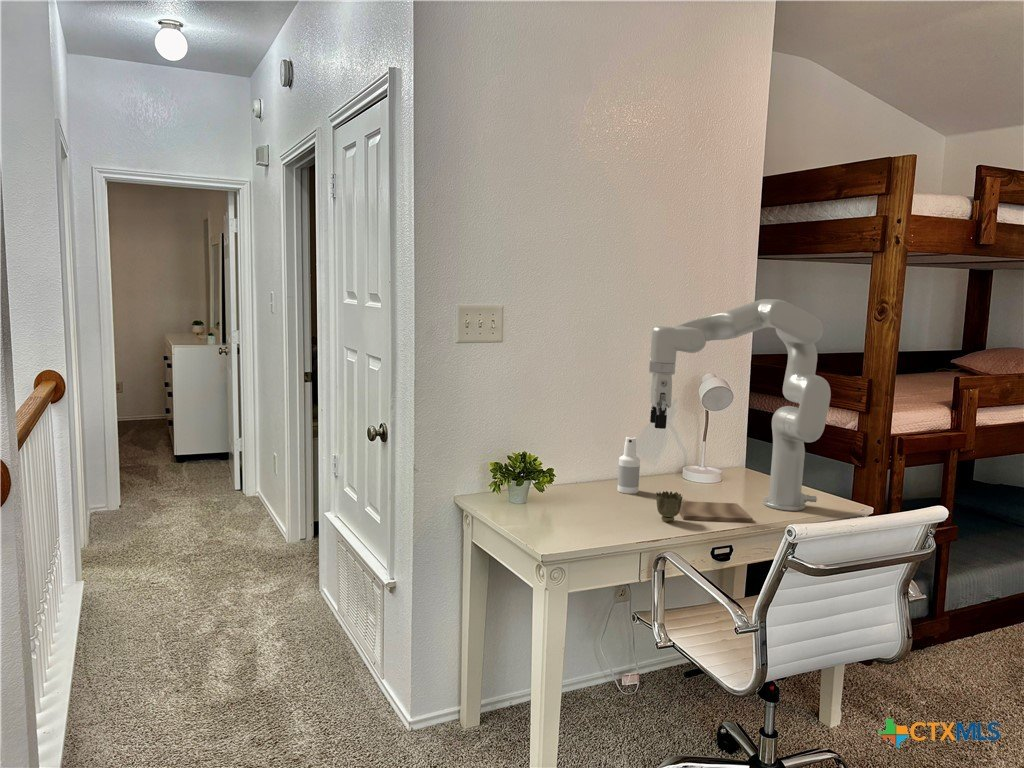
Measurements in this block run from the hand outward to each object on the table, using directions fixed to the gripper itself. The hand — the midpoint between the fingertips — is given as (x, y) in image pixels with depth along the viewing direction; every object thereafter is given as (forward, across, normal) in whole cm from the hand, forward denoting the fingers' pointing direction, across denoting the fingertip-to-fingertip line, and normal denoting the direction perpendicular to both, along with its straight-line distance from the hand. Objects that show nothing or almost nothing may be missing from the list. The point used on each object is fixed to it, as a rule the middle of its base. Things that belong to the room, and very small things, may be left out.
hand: (657, 425), depth 227 cm
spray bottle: (+26, +21, +5) cm, 34 cm away
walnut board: (+26, 0, -18) cm, 31 cm away
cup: (+26, -11, -3) cm, 28 cm away
